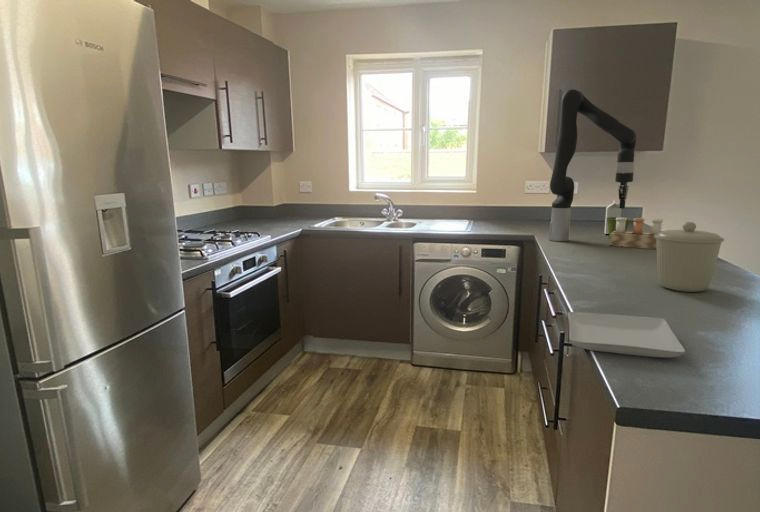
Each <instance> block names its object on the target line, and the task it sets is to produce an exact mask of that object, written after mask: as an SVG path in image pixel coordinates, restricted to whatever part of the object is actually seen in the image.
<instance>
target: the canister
mask: <svg viewBox="0 0 760 512" xmlns="http://www.w3.org/2000/svg"><path fill="white" fill-rule="evenodd" d="M696 229H697V224H696V223H695V222H693V221H692V222H691V221H686V222H684V223H683V224H682V229H668V230H667V229H666V230H661V232H659V233H658V234H655V235H654V237H655V238H656V247H657V249H656V269H657V280H658V284H660V285H661V287H663V288H666V289H668V290H672V291H675V292H676V291H677V292H684V293H686V292H687V293H699V292H703V291H706V290H707V289H708V288H709V286H710V285H711V282H712V280H713V279H712V278H713V276H714V272H715V268H716V265H717V260H718V257H719V254H720V249H721V245H722V243H723V242H724V241H725V238H724V237H722V236H720V235H719V234H717V233H714V232H710V231H704V230H696Z"/></svg>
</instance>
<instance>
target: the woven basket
mask: <svg viewBox="0 0 760 512" xmlns="http://www.w3.org/2000/svg"><path fill="white" fill-rule="evenodd" d="M610 245H613V246H612V247H621V246H623V248H637V249H652V250H657V247H656V238H655V237H654V235H651V232H642V235H639V234H633V231H626V232H625V234H622V233H616V231H613V232H612V233H611V234H610V239H609V246H610Z"/></svg>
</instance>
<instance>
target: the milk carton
mask: <svg viewBox="0 0 760 512" xmlns="http://www.w3.org/2000/svg"><path fill="white" fill-rule="evenodd" d="M619 206H620V202H617V203H616V201H615V200H613V202H612V203H610V204H609V205H608V206H606V208H605V219H604V220H605V221H604V233H605V234H609V233H608V223H607V219H606V218H607V217H622V208H619ZM605 234H604V235H605Z"/></svg>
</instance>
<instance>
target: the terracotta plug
mask: <svg viewBox="0 0 760 512" xmlns="http://www.w3.org/2000/svg"><path fill="white" fill-rule="evenodd" d="M632 222H633V225H632V232H633V234H639V235H642V233H643V230H644V222H645V218H642V217H641V218H639V217H635V218H633V219H632Z"/></svg>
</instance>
